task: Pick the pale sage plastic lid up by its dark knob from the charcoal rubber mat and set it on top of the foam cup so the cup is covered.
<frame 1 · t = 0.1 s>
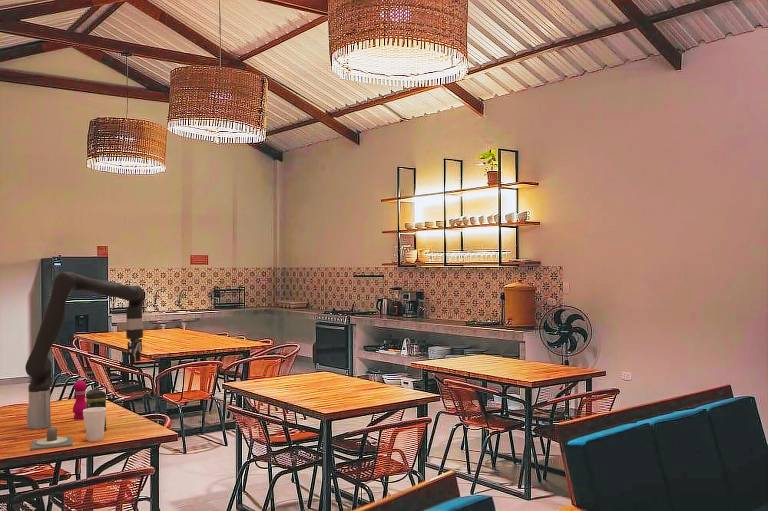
hand: (135, 362, 346), 29 cm above the table, fingers open, 8 cm apart
coffee jar: (96, 430, 335), on the table
foam cup: (95, 439, 318), on the table
mat: (52, 443, 311), on the table
pepper mill: (80, 418, 363), on the table
lid: (51, 442, 311), point 1 cm above the table, touching mat
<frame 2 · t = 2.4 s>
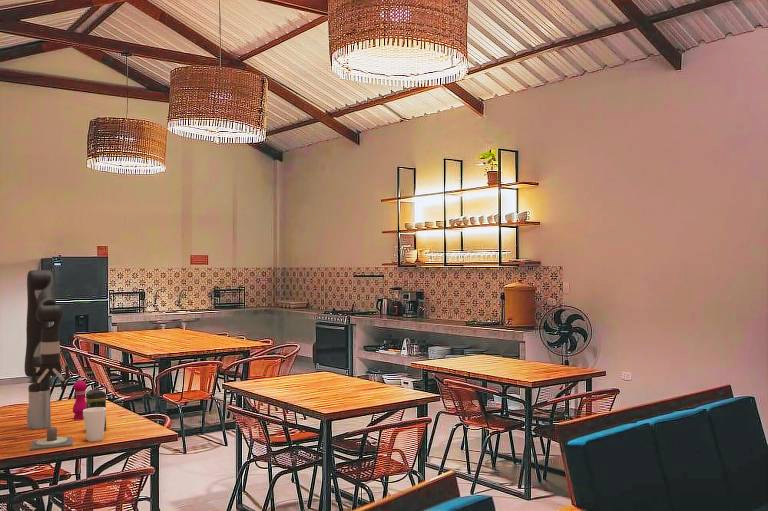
hand: (51, 390, 311), 23 cm above the table, fingers open, 8 cm apart
nothing on the table moved.
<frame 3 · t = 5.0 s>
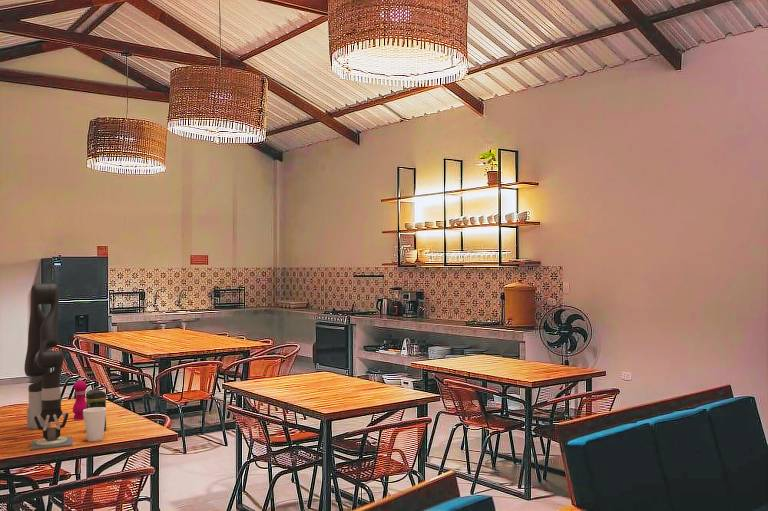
hand: (51, 438, 311), 2 cm above the table, fingers closed on lid, 4 cm apart
lid: (51, 442, 311), point 1 cm above the table, touching gripper, mat
everything else where it was.
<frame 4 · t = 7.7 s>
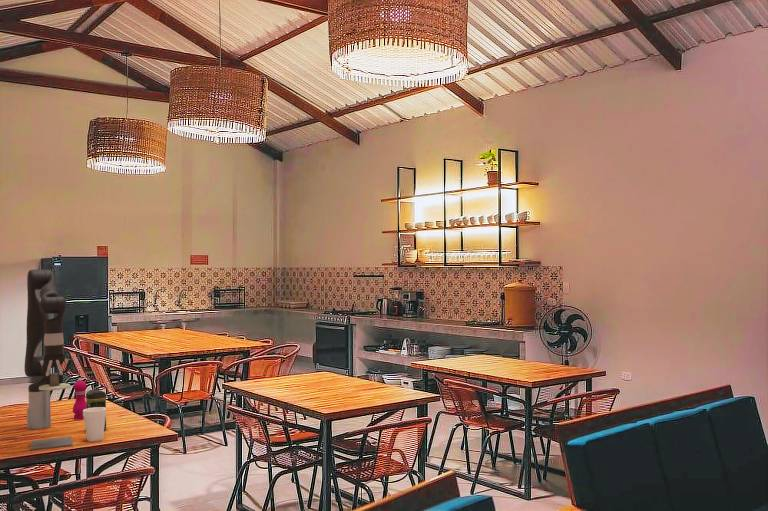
hand: (54, 383, 312), 25 cm above the table, fingers closed on lid, 4 cm apart
lid: (54, 388, 312), point 24 cm above the table, touching gripper
everything else where it was.
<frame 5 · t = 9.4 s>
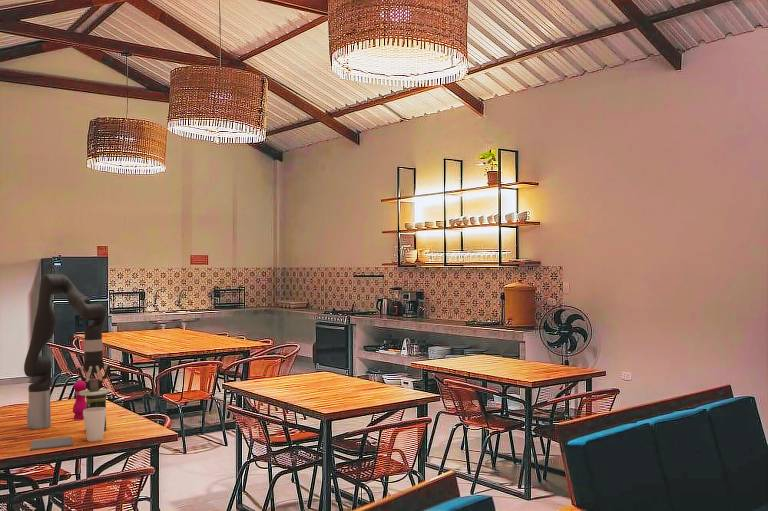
hand: (94, 389, 318), 22 cm above the table, fingers closed on lid, 4 cm apart
lid: (94, 393, 318), point 20 cm above the table, touching gripper
everything else where it was.
when the fingers open (16 cm above the table, at t = 10.7 s): lid drops 1 cm, resting on foam cup.
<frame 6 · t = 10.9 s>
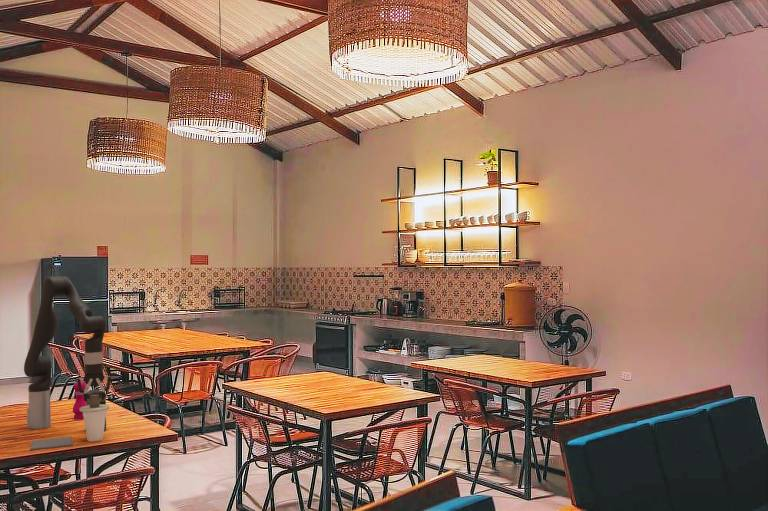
hand: (94, 401, 318), 17 cm above the table, fingers open, 6 cm apart
foam cup: (95, 439, 318), on the table, touching lid
lid: (94, 409, 318), point 13 cm above the table, touching foam cup
everything else where it was.
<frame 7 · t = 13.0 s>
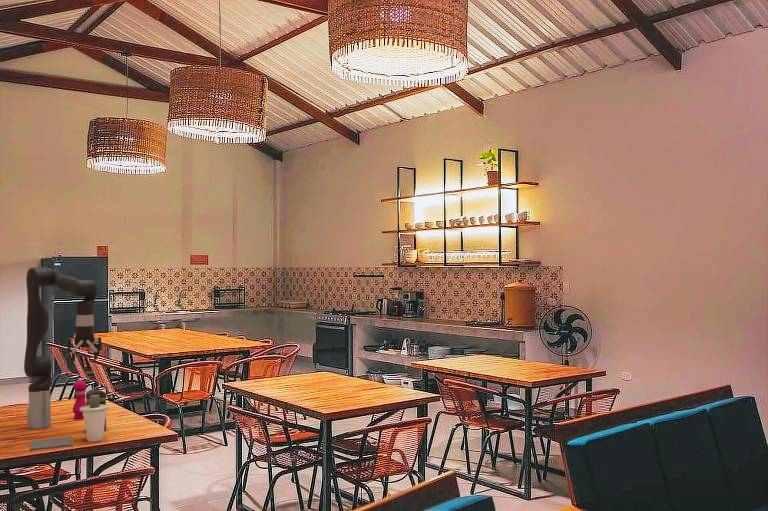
hand: (84, 360, 328), 33 cm above the table, fingers open, 8 cm apart
nothing on the table moved.
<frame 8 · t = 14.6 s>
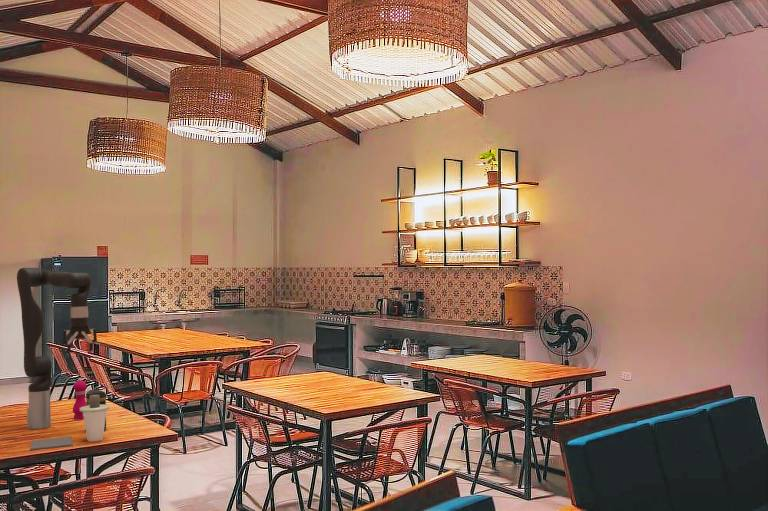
hand: (80, 352, 334), 36 cm above the table, fingers open, 8 cm apart
nothing on the table moved.
at the end: lid 0.0 cm off-centre on the foam cup, point 13.2 cm above the foam cup's base; foam cup tilted 0°; the gripper is holding nothing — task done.
